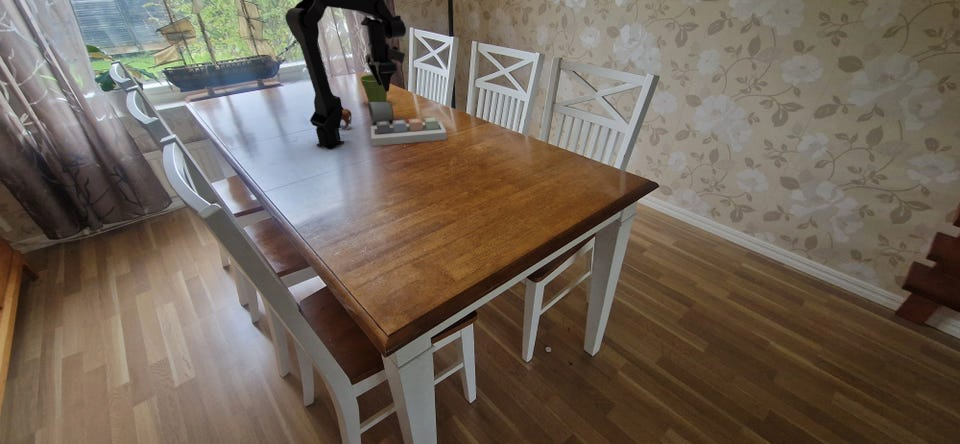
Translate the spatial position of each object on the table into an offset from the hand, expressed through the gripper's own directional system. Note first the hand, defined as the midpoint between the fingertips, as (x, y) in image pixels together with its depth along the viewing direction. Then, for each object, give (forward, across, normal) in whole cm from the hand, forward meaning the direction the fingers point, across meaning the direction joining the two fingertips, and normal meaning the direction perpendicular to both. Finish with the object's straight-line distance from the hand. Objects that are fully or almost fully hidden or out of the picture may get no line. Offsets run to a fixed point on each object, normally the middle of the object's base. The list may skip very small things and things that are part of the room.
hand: (383, 88), depth 133 cm
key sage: (+11, -16, -11) cm, 22 cm away
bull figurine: (+14, +7, +17) cm, 23 cm away
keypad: (+14, -14, -4) cm, 20 cm away
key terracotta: (+11, -15, -6) cm, 19 cm away
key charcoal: (+11, -12, +5) cm, 17 cm away
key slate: (+11, -13, -1) cm, 17 cm away
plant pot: (+14, +27, -3) cm, 31 cm away
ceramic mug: (+14, +7, +1) cm, 15 cm away
